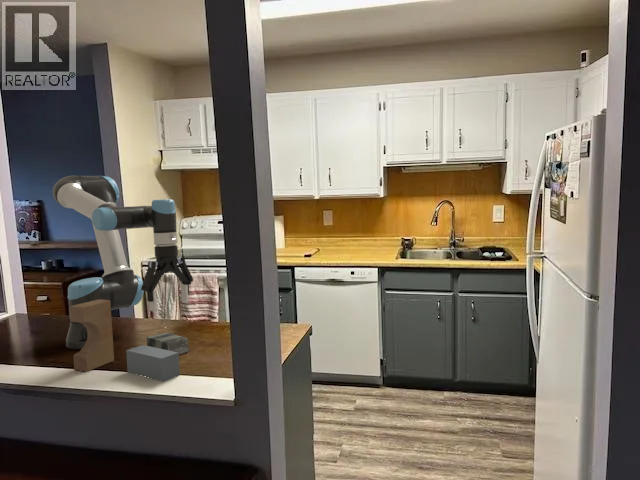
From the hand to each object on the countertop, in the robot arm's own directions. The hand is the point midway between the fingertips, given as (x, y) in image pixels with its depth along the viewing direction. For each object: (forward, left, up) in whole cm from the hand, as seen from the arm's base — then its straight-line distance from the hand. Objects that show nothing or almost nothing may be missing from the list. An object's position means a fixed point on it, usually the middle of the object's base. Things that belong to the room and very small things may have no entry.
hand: (169, 306), depth 167 cm
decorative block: (-9, -23, -15) cm, 29 cm away
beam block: (+14, -19, -15) cm, 28 cm away
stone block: (0, -1, -15) cm, 15 cm away
